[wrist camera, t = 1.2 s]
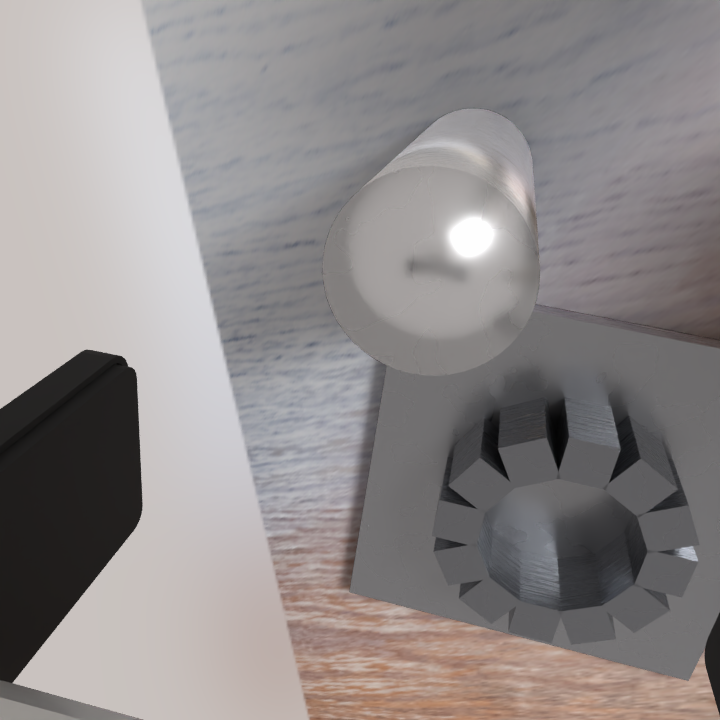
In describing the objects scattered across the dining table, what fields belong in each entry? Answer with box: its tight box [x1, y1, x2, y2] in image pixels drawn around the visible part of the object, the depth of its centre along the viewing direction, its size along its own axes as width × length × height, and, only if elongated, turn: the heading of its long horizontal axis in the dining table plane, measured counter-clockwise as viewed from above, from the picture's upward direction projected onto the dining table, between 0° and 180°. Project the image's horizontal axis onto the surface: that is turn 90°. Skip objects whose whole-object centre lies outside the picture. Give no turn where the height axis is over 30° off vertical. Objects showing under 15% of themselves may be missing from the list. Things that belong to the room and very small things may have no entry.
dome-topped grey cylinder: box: [322, 108, 540, 376], centre depth 22 cm, size 7×5×14 cm
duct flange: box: [350, 304, 720, 681], centre depth 31 cm, size 18×18×4 cm
